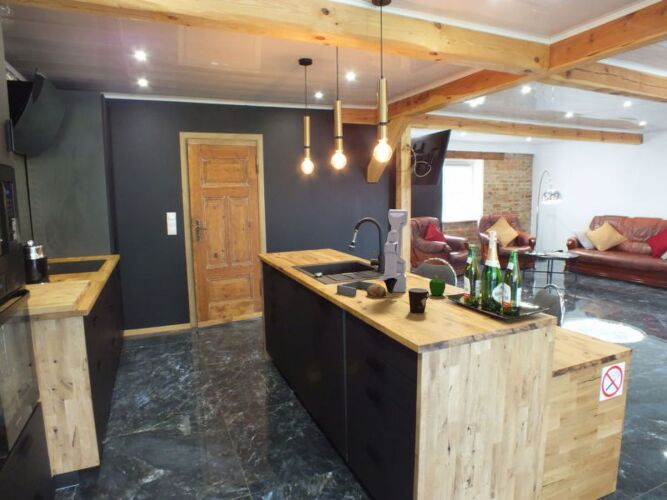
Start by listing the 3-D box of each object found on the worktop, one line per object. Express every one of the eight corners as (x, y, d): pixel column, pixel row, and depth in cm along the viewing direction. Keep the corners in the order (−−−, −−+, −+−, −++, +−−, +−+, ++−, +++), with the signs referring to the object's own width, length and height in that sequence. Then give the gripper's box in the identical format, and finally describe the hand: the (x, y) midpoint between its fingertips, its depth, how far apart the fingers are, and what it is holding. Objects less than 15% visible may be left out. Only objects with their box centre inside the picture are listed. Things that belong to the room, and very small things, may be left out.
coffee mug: (412, 315, 186) (413, 292, 185) (404, 309, 194) (405, 288, 193) (436, 313, 189) (437, 291, 188) (427, 308, 198) (428, 287, 196)
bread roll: (365, 301, 223) (360, 289, 219) (376, 291, 229) (372, 278, 225) (379, 305, 216) (375, 292, 212) (391, 294, 222) (387, 281, 218)
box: (376, 290, 232) (376, 283, 232) (354, 296, 219) (354, 288, 218) (358, 287, 240) (358, 280, 240) (337, 292, 227) (337, 285, 226)
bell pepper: (445, 297, 219) (446, 278, 218) (429, 296, 221) (429, 277, 220) (444, 293, 227) (445, 275, 226) (428, 292, 229) (429, 274, 228)
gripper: (393, 263, 221) (392, 289, 223) (375, 266, 211) (374, 293, 213) (404, 265, 216) (403, 291, 218) (386, 268, 206) (385, 296, 208)
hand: (390, 292), depth 215 cm, fingers closed
